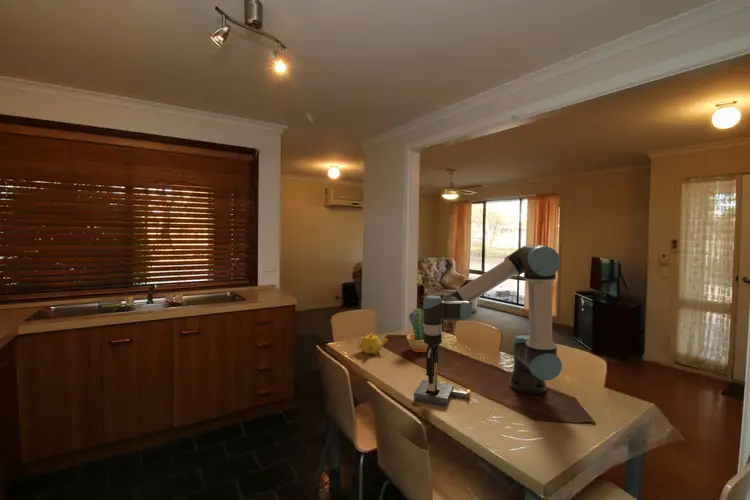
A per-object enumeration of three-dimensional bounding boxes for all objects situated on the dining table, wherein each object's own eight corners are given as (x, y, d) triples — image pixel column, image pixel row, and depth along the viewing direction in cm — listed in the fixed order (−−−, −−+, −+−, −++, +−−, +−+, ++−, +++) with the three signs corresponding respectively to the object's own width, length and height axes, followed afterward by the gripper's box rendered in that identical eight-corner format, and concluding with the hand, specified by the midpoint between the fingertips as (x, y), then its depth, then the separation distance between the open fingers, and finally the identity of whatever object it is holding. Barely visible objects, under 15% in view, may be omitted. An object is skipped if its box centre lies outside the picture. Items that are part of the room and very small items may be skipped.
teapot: (371, 359, 194) (370, 339, 194) (355, 353, 204) (354, 334, 203) (388, 352, 204) (388, 334, 204) (372, 347, 214) (372, 329, 213)
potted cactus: (404, 346, 215) (403, 306, 214) (428, 345, 217) (428, 305, 215) (409, 355, 200) (409, 312, 198) (435, 353, 201) (435, 311, 200)
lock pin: (470, 396, 148) (470, 389, 148) (469, 399, 146) (469, 392, 146) (439, 391, 154) (439, 384, 153) (437, 394, 151) (437, 387, 151)
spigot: (438, 394, 147) (438, 361, 146) (436, 398, 143) (436, 365, 143) (429, 392, 149) (429, 360, 148) (426, 396, 145) (426, 364, 144)
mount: (453, 392, 153) (453, 384, 152) (447, 407, 140) (447, 398, 140) (422, 387, 158) (422, 379, 158) (413, 401, 145) (413, 392, 145)
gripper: (428, 327, 154) (429, 378, 155) (418, 338, 138) (418, 395, 140) (445, 328, 151) (445, 381, 152) (436, 340, 135) (437, 398, 137)
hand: (432, 387), depth 146 cm, fingers closed on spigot, 4 cm apart
